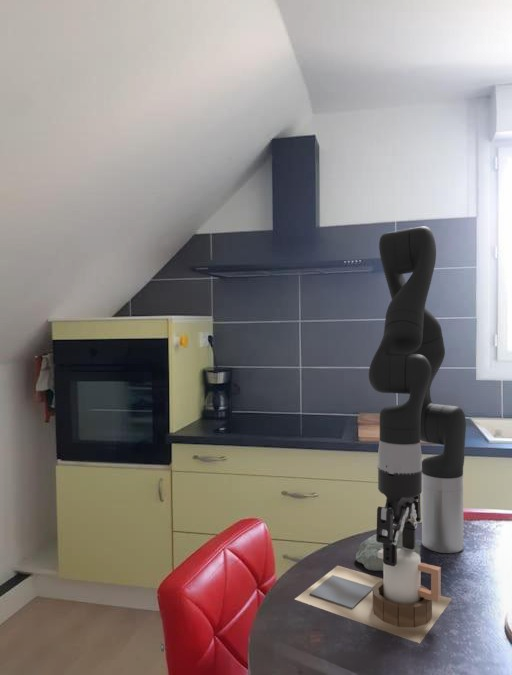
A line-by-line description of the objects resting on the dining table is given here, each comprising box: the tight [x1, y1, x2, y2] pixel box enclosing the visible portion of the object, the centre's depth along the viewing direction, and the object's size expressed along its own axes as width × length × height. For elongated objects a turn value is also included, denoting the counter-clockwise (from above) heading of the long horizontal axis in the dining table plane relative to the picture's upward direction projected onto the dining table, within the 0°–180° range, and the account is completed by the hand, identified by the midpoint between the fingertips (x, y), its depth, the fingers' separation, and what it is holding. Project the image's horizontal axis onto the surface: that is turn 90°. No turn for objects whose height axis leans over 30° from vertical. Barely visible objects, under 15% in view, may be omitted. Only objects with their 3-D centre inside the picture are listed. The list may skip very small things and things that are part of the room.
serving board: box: [294, 565, 453, 645], centre depth 101 cm, size 17×24×5 cm
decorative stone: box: [355, 524, 422, 572], centre depth 116 cm, size 13×11×10 cm
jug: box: [378, 549, 442, 604], centre depth 96 cm, size 11×6×10 cm, turn 53°
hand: (399, 556), depth 97 cm, fingers open, 8 cm apart
